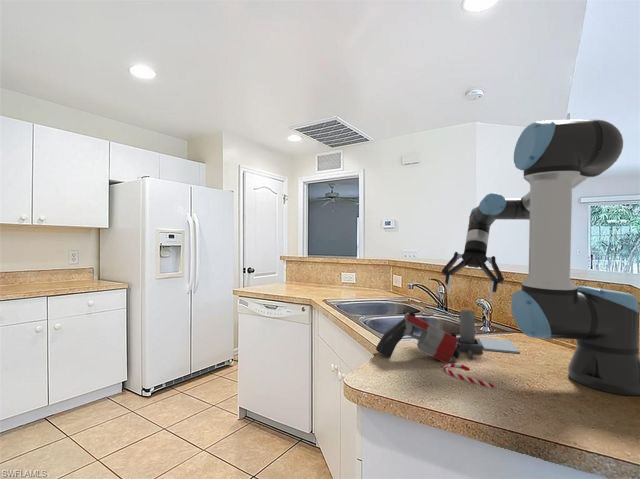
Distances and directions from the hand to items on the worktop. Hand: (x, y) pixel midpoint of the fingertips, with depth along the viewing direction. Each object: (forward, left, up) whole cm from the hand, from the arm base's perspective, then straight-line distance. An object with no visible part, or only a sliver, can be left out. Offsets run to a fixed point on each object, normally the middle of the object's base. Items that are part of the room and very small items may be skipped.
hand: (468, 296), depth 115 cm
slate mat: (-2, -9, -16) cm, 18 cm away
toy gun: (-22, +16, -16) cm, 32 cm away
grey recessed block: (-11, +1, -16) cm, 19 cm away
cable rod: (-8, +1, -16) cm, 18 cm away
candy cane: (-32, +3, -16) cm, 36 cm away
